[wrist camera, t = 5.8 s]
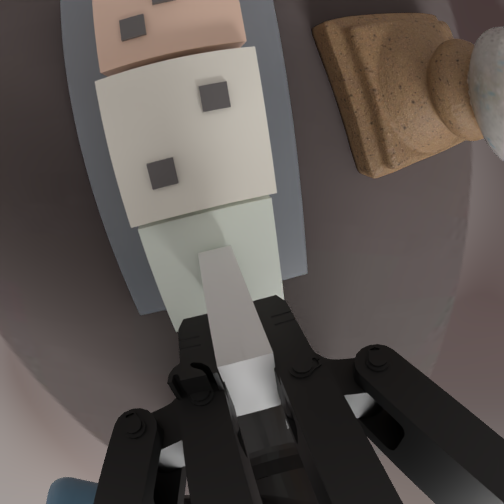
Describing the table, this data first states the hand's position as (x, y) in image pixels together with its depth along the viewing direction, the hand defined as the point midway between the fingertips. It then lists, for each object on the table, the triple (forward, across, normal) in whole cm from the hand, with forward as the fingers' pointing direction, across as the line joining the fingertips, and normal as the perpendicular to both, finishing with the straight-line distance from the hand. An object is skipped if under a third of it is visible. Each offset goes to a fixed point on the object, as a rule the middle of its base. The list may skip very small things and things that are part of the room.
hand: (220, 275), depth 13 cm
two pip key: (+3, 0, -6) cm, 7 cm away
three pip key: (+4, 0, -13) cm, 14 cm away
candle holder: (+6, -15, -8) cm, 18 cm away
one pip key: (+4, 0, 0) cm, 4 cm away
